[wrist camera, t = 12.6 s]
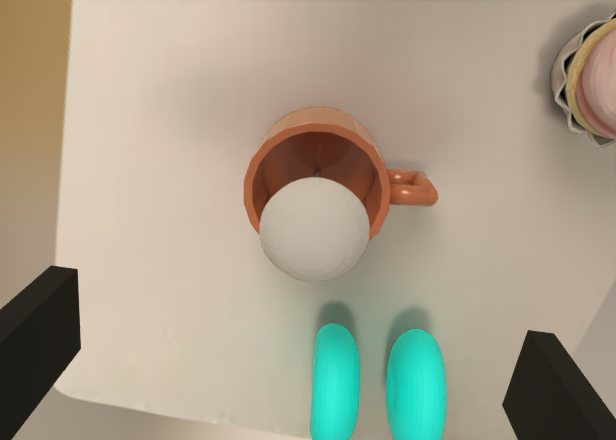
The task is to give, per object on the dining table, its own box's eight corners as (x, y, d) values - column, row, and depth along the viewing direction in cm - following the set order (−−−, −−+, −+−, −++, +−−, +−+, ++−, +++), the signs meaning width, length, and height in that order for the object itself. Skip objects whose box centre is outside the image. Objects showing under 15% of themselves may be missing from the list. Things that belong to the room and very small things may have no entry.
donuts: (317, 300, 45) (315, 372, 35) (430, 307, 44) (458, 381, 35) (311, 392, 48) (307, 479, 39) (416, 398, 48) (437, 488, 39)
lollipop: (282, 209, 41) (259, 305, 27) (274, 137, 39) (245, 200, 25) (359, 204, 40) (376, 299, 26) (355, 131, 38) (372, 192, 24)
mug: (256, 222, 42) (243, 257, 36) (257, 103, 39) (244, 118, 32) (415, 231, 42) (432, 269, 35) (431, 113, 38) (453, 130, 32)
